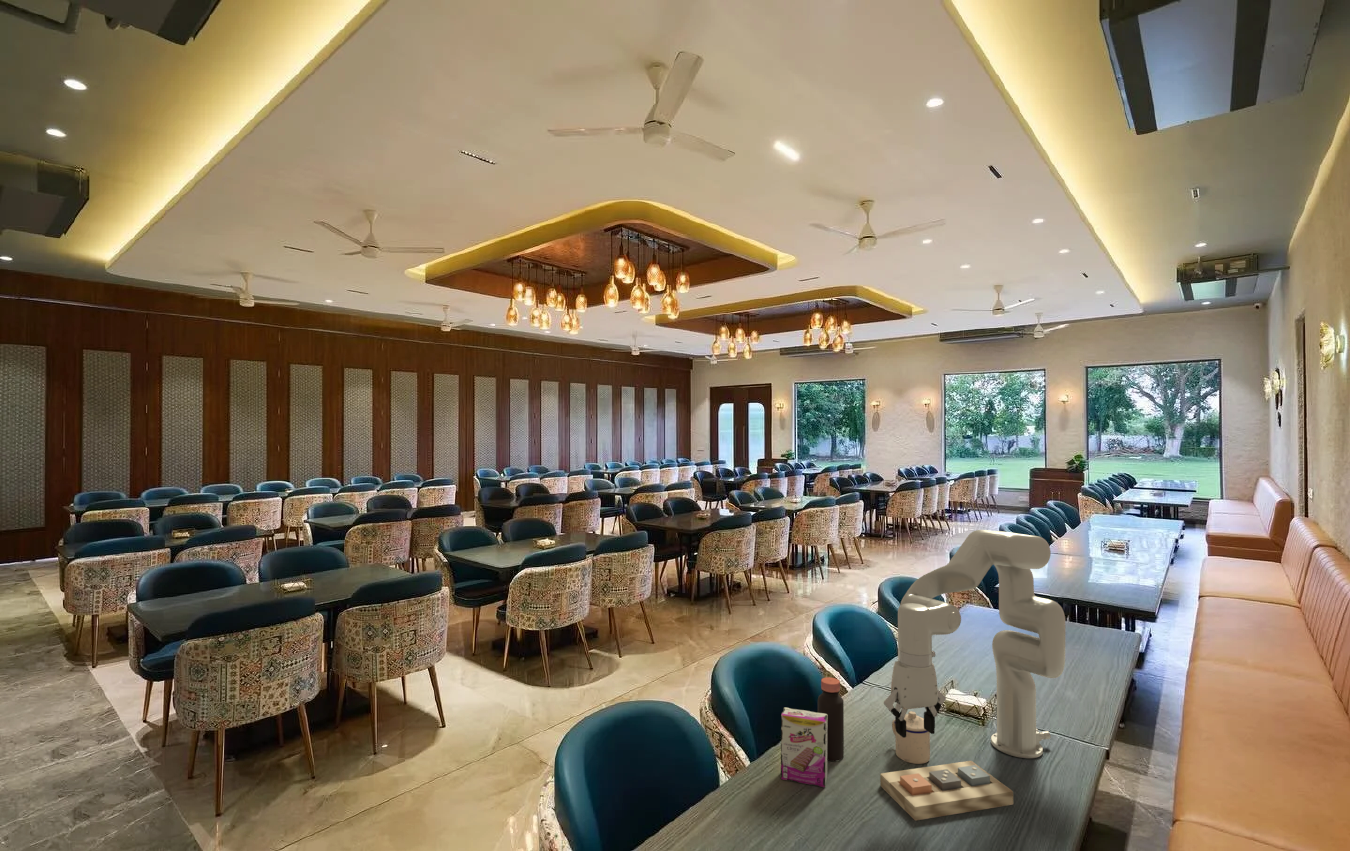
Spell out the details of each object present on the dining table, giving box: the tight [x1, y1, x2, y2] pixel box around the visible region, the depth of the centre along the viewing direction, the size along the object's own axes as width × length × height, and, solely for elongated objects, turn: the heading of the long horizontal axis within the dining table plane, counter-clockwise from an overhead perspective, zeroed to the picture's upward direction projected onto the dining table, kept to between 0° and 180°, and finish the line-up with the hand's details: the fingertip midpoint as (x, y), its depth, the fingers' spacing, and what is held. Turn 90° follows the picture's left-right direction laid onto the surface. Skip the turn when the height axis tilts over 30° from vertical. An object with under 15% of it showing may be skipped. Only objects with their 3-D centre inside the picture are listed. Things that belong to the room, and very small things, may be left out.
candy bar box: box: [780, 707, 828, 788], centre depth 154 cm, size 11×5×16 cm, turn 71°
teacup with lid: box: [891, 711, 931, 765], centre depth 167 cm, size 12×9×12 cm
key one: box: [900, 773, 932, 796], centre depth 146 cm, size 5×5×3 cm
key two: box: [958, 765, 990, 786], centre depth 149 cm, size 5×5×3 cm
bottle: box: [817, 676, 845, 762], centre depth 166 cm, size 7×7×20 cm
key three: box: [929, 769, 961, 791], centre depth 147 cm, size 5×5×3 cm
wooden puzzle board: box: [879, 760, 1014, 822], centre depth 147 cm, size 26×14×3 cm, turn 103°
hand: (915, 732), depth 146 cm, fingers open, 6 cm apart
